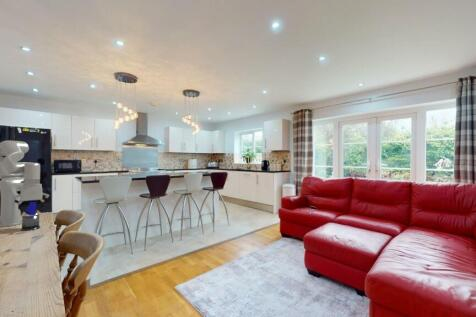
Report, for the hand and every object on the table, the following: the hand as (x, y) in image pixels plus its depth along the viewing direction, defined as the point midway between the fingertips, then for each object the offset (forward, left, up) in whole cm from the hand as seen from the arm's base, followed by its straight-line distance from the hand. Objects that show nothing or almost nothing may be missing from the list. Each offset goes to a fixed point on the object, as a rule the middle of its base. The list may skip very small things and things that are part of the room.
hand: (31, 209), depth 141 cm
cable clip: (0, 0, -3) cm, 3 cm away
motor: (0, 0, -12) cm, 12 cm away
